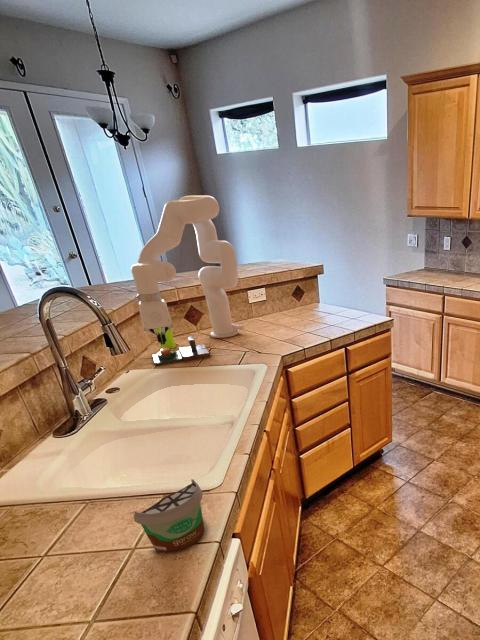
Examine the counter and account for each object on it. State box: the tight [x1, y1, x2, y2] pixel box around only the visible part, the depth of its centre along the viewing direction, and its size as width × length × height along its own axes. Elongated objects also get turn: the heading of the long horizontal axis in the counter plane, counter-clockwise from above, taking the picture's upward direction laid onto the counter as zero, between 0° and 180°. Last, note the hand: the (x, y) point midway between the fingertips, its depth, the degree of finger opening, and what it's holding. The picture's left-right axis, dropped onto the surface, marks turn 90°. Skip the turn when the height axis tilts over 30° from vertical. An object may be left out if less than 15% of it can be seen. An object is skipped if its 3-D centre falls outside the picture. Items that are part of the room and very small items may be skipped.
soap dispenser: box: [156, 301, 177, 350], centre depth 187 cm, size 6×7×20 cm
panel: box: [178, 344, 211, 362], centre depth 181 cm, size 10×14×2 cm
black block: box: [187, 336, 197, 352], centre depth 180 cm, size 5×2×5 cm, turn 31°
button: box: [159, 348, 171, 354], centre depth 176 cm, size 4×4×2 cm
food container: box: [133, 478, 205, 554], centre depth 80 cm, size 12×6×10 cm, turn 148°
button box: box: [152, 349, 184, 367], centre depth 176 cm, size 10×12×3 cm
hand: (163, 343), depth 174 cm, fingers closed
